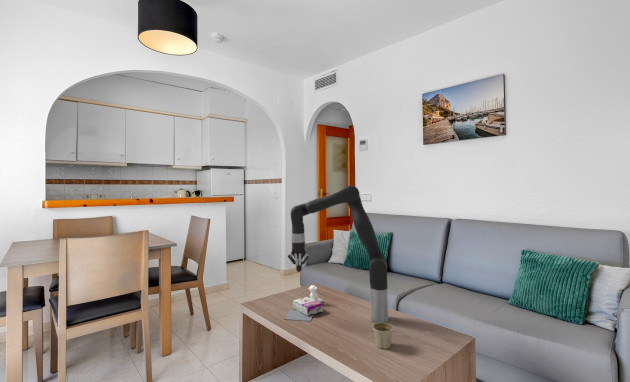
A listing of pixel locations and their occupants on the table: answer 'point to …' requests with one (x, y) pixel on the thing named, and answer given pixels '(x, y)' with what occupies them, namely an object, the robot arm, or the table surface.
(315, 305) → the candy bar box
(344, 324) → the table surface
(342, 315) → the table surface
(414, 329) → the table surface
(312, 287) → the white creature statuette
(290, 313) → the mat
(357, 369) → the table surface
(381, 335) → the flower pot
